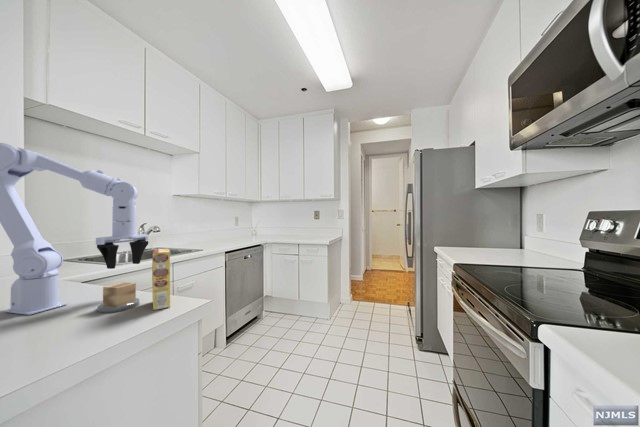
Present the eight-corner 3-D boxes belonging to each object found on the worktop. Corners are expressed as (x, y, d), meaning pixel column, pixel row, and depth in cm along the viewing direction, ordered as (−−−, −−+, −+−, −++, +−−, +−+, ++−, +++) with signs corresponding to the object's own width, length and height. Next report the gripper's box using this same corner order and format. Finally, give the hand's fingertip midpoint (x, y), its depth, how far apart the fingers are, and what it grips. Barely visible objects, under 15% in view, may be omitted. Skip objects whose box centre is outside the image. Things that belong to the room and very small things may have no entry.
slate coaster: (88, 311, 65) (88, 307, 65) (122, 300, 74) (123, 296, 74) (114, 314, 63) (114, 310, 63) (147, 302, 72) (147, 298, 72)
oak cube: (102, 305, 66) (103, 286, 66) (121, 299, 71) (121, 282, 71) (117, 307, 65) (117, 288, 65) (135, 300, 70) (135, 283, 70)
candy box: (170, 307, 67) (170, 251, 68) (151, 311, 65) (152, 252, 65) (169, 298, 75) (169, 248, 75) (152, 301, 72) (152, 249, 73)
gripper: (109, 222, 68) (109, 271, 68) (155, 221, 82) (155, 262, 82) (90, 222, 70) (89, 270, 69) (138, 221, 84) (138, 261, 83)
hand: (124, 265), depth 76 cm, fingers open, 7 cm apart
